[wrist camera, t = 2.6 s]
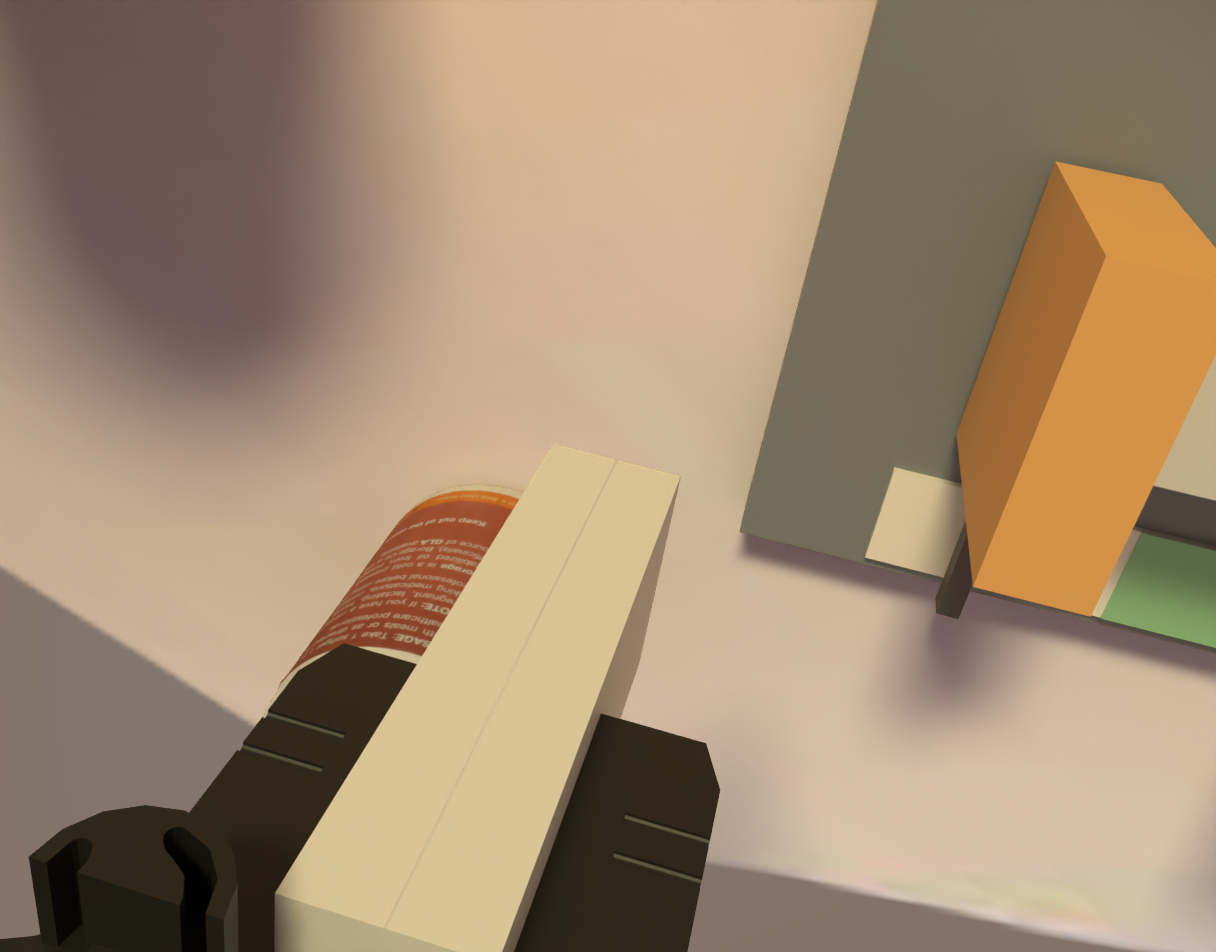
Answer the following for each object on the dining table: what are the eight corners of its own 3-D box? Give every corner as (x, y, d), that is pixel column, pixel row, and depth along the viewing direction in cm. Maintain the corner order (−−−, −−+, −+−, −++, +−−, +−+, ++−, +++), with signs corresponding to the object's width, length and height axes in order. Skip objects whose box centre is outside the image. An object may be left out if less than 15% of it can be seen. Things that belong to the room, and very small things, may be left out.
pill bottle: (364, 592, 32) (143, 896, 23) (446, 434, 29) (229, 711, 20) (550, 698, 33) (408, 1041, 23) (651, 553, 29) (535, 883, 20)
